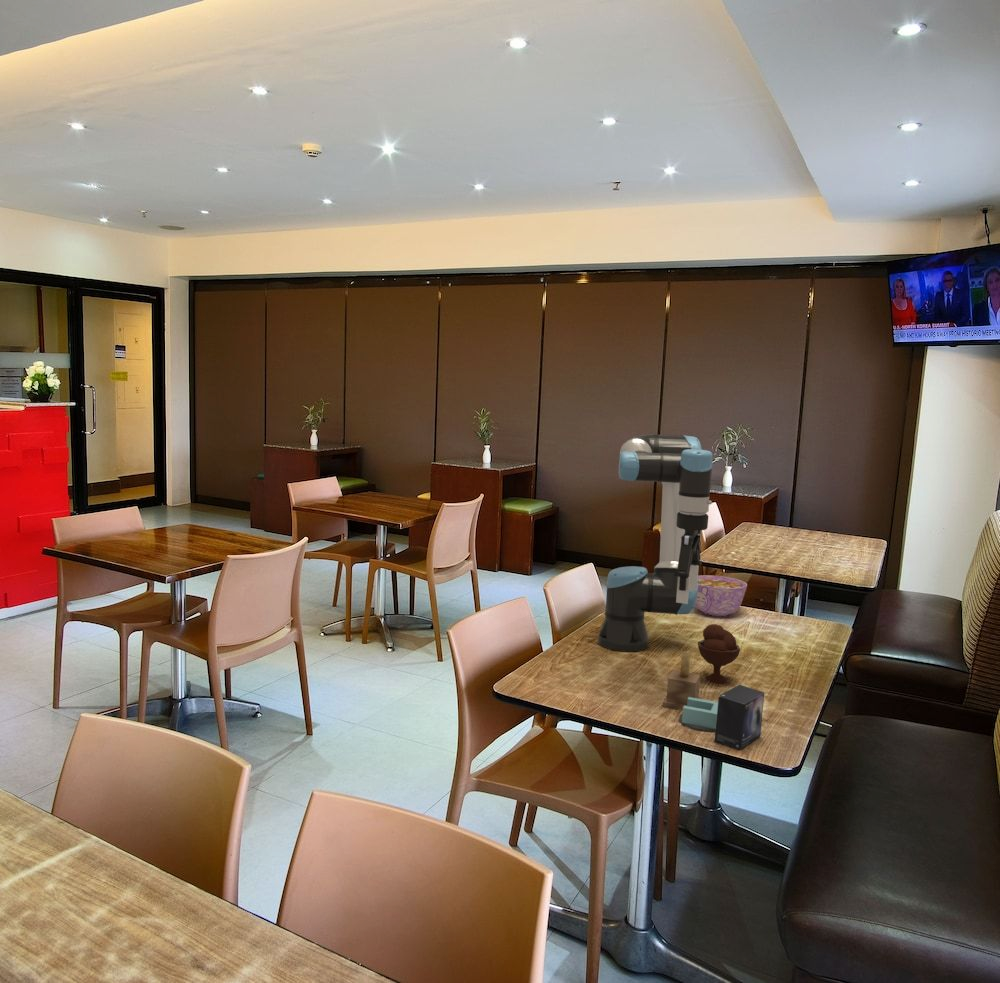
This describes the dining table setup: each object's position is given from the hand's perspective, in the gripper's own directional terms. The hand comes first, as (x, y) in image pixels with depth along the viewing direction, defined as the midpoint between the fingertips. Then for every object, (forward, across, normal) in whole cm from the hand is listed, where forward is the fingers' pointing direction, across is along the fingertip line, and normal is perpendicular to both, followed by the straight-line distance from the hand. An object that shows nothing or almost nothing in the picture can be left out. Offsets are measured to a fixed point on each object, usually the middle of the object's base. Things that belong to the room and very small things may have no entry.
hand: (686, 596), depth 197 cm
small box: (+24, -24, -17) cm, 38 cm away
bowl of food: (+28, +83, +2) cm, 88 cm away
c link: (+24, -18, -8) cm, 31 cm away
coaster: (+24, -18, -8) cm, 31 cm away
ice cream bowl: (+25, +13, -7) cm, 29 cm away
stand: (+25, -9, -2) cm, 26 cm away
